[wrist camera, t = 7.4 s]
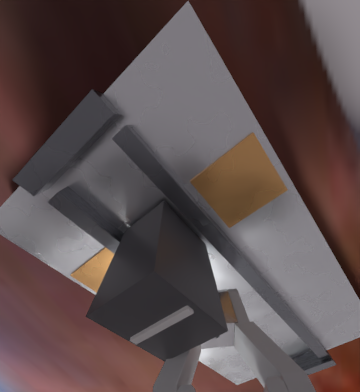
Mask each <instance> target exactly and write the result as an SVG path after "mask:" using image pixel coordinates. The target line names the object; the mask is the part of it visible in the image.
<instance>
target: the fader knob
mask: <svg viewBox="0 0 360 392" xmlns="http://www.w3.org/2000/svg"><path fill="white" fill-rule="evenodd" d="M86 317H87V318H89V319H91V320H93V321H94V322H96V323H98V324H100V325H102V326H103V327H105V328H107V329H109V330H110V331H112V332H114V333H116V334H117V335H119V336H121V337H123V338H124V339H126V340H128V341H130V342H131V343H133V344H135V345H137V346H138V347H140V348H142V349H144V350H145V351H147V352H149V353H151V354H152V355H154V356H156V357H158V358H159V359H161V360H163V361H166V359H171V358H174V357H176V356H178V355H180V354H182V353H184V352H186V351H188V350H190V349H192V348H194V347H196V346H199V345H201V344H203V343H205V342H207V341H209V340H211V339H213V338H215V337H217V336H219V335H221V334H223V333H225V332H227V331H228V328H227V324H226V320H225V316H224V313H223V309H222V305H221V301H220V297H219V293H218V290H217V286H216V282H215V278H214V274H213V270H212V267H211V263H210V259H209V255H208V251H207V247H206V244H205V243H204V242H203V241H202V240H201V239H200V238H199V236H198V235H197V234H196V233H195V232H194V231H193V230H192V229H191V228H190V227H189V226H188V225H187V224H186V223H185V222H184V221H183V220H182V219H181V218H180V217H179V216H178V215H177V214H176V213H175V212H174V211H173V209H172V208H171V207H170V206H169V205H168V204H167V203H166V202H165V201H163V202H161V203H160V204H159V205H157V206H156V207H155V208H154V209H152V210H151V211H150V212H148V213H147V214H146V215H145V216H143V217H142V218H141V219H140V220H138V221H137V222H136V223H134V224H133V225H132V226H131V227H129V228H128V229H127V230H125V232H124V234H123V237H122V239H121V241H120V243H119V245H118V248H117V250H116V252H115V254H114V256H113V258H112V261H111V263H110V265H109V267H108V269H107V271H106V274H105V276H104V278H103V280H102V282H101V284H100V287H99V289H98V291H97V293H96V295H95V298H94V300H93V302H92V304H91V306H90V308H89V311H88V313H87V315H86Z"/></svg>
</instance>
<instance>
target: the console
mask: <svg viewBox="0 0 360 392" xmlns="http://www.w3.org/2000/svg"><path fill="white" fill-rule="evenodd" d="M13 181H14V182H15V183H17V184H18V185H19V187H18V188H17V190H16V191H15V192H14V193H13V194H12V195H11V196H10V197H9V198H8V199H7V201H6V202H5V203H4V204H3V205H2V206H1V207H0V235H2V236H4V237H5V238H7V239H8V240H10V241H11V242H13V243H15V244H16V245H18V246H19V247H21V248H22V249H24V250H26V251H27V252H29V253H30V254H32V255H33V256H35V257H37V258H38V259H40V260H41V261H43V262H44V263H46V264H48V265H49V266H51V267H52V268H54V269H55V270H57V271H59V272H60V273H62V274H63V275H65V276H66V277H68V278H70V279H71V280H73V281H74V282H76V283H77V284H79V285H81V286H82V287H84V288H85V289H87V290H88V291H90V292H92V293H93V294H95V295H96V293H97V291H98V289H99V287H100V284H101V282H102V280H103V278H104V276H105V274H106V271H107V269H108V267H109V265H110V263H111V261H112V258H113V256H114V254H115V252H116V250H117V248H118V245H119V243H120V241H121V239H122V237H123V234H124V232H125V230H127V229H128V228H129V227H131V226H132V225H133V224H134V223H136V222H137V221H138V220H140V219H141V218H142V217H143V216H145V215H146V214H147V213H148V212H150V211H151V210H152V209H154V208H155V207H156V206H157V205H159V204H160V203H161V202H163V201H165V202H166V203H167V204H168V205H169V206H170V207H171V208H172V209H173V211H174V212H175V213H176V214H177V215H178V216H179V217H180V218H181V219H182V220H183V221H184V222H185V223H186V224H187V225H188V226H189V227H190V228H191V229H192V230H193V231H194V232H195V233H196V234H197V235H198V236H199V238H200V239H201V240H202V241H203V242H204V243H205V244H206V247H207V251H208V255H209V259H210V263H211V267H212V270H213V274H214V278H215V282H216V286H217V290H223V289H234V288H236V289H237V290H238V292H239V295H240V297H241V300H242V302H243V305H244V308H245V310H246V313H247V315H248V318H249V321H250V322H254V323H255V324H256V325H257V326H258V327H259V328H260V329H261V330H262V331H263V332H264V333H265V334H266V335H267V336H268V337H270V338H271V339H272V340H273V341H274V342H275V343H276V344H277V345H278V346H279V347H280V348H281V349H282V350H283V351H284V352H285V353H286V354H287V355H288V356H289V357H290V358H291V359H292V360H293V361H294V362H295V363H296V364H297V365H299V366H300V367H301V368H302V369H303V370H304V371H305V372H306V374H307V375H309V374H312V373H315V372H318V371H320V370H323V369H326V368H329V367H331V366H334V365H336V363H335V362H334V360H333V359H332V357H331V356H330V354H329V353H328V351H327V350H328V349H331V348H333V347H336V346H339V345H341V344H344V343H346V342H349V341H351V340H354V339H356V338H359V337H360V300H359V298H358V296H357V295H356V293H355V291H354V289H353V288H352V286H351V284H350V282H349V281H348V279H347V277H346V275H345V274H344V272H343V270H342V268H341V267H340V265H339V263H338V261H337V260H336V258H335V256H334V254H333V253H332V251H331V249H330V247H329V246H328V244H327V242H326V240H325V239H324V237H323V235H322V233H321V232H320V230H319V228H318V226H317V225H316V223H315V221H314V219H313V218H312V216H311V214H310V212H309V211H308V209H307V207H306V205H305V204H304V202H303V200H302V198H301V197H300V195H299V193H298V192H297V190H296V188H295V186H294V185H293V183H292V181H291V179H290V178H289V176H288V174H287V172H286V171H285V169H284V167H283V165H282V164H281V162H280V160H279V158H278V157H277V155H276V153H275V151H274V150H273V148H272V146H271V144H270V143H269V141H268V139H267V137H266V136H265V134H264V132H263V130H262V129H261V127H260V125H259V123H258V122H257V120H256V118H255V116H254V115H253V113H252V111H251V109H250V108H249V106H248V104H247V102H246V101H245V99H244V97H243V95H242V94H241V92H240V90H239V88H238V87H237V85H236V83H235V81H234V80H233V78H232V76H231V74H230V73H229V71H228V69H227V67H226V66H225V64H224V62H223V60H222V59H221V57H220V55H219V53H218V52H217V50H216V48H215V46H214V45H213V43H212V41H211V39H210V38H209V36H208V34H207V32H206V31H205V29H204V27H203V25H202V24H201V22H200V20H199V18H198V17H197V15H196V13H195V11H194V10H193V8H192V6H191V4H190V3H189V1H187V2H186V3H185V4H184V6H183V7H182V8H181V9H180V10H179V11H178V12H177V13H176V14H175V15H174V17H173V18H172V19H171V20H170V21H169V22H168V23H167V24H166V25H165V26H164V28H163V29H162V30H161V31H160V32H159V33H158V34H157V35H156V36H155V37H154V39H153V40H152V41H151V42H150V43H149V44H148V45H147V46H146V47H145V49H144V50H143V51H142V52H141V53H140V54H139V55H138V56H137V57H136V58H135V60H134V61H133V62H132V63H131V64H130V65H129V66H128V67H127V68H126V69H125V71H124V72H123V73H122V74H121V75H120V76H119V77H118V78H117V79H116V80H115V82H114V83H113V84H112V85H111V86H110V87H109V88H108V89H107V90H106V91H105V93H104V94H103V93H100V92H98V91H96V90H93V89H92V90H91V91H90V92H89V93H88V94H87V96H86V97H85V98H84V99H83V100H82V101H81V102H80V104H79V105H78V106H77V107H76V108H75V109H74V110H73V112H72V113H71V114H70V115H69V116H68V117H67V118H66V119H65V121H64V122H63V123H62V124H61V125H60V126H59V127H58V129H57V130H56V131H55V132H54V133H53V134H52V135H51V137H50V138H49V139H48V140H47V141H46V142H45V143H44V145H43V146H42V147H41V148H40V149H39V150H38V151H37V152H36V154H35V155H34V156H33V157H32V158H31V159H30V160H29V162H28V163H27V164H26V165H25V166H24V167H23V168H22V170H21V171H20V172H19V173H18V174H17V175H16V176H15V178H14V179H13ZM199 361H200V362H202V363H203V364H205V365H207V366H208V367H210V368H211V369H213V370H214V371H216V372H218V373H219V374H221V375H222V376H224V377H225V378H227V379H229V380H230V381H232V382H233V383H235V384H236V385H239V384H241V383H244V382H246V381H249V380H251V379H254V378H256V376H255V375H254V373H253V372H252V371H251V369H250V368H249V367H248V365H247V364H246V362H245V361H244V360H243V358H242V357H241V356H240V354H239V353H238V352H237V350H236V349H235V348H234V346H227V347H215V348H207V349H201V354H200V357H199Z"/></svg>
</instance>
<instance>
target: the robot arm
mask: <svg viewBox="0 0 360 392" xmlns="http://www.w3.org/2000/svg"><path fill="white" fill-rule="evenodd" d="M218 293H219V297H220V301H221V305H222V309H223V313H224V316H225V320H226V324H227V328H228V331H227V332H225V333H223V334H221V335H219V336H217V337H215V338H213V339H211V340H209V341H207V342H205V343H203V344H201V345H199V346H196V347H194V348H192V349H190V350H188V351H186V352H184V353H182V354H180V355H178V356H176V357H174V358H171V359H166V361H165V363H164V365H163V367H162V369H161V371H160V373H159V376H158V378H157V380H156V382H155V384H154V386H153V392H196V391H195V388H194V387H193V386H192V385H191V383H192V380H193V376H194V373H195V370H196V367H197V363H198V360H199V357H200V354H201V349H207V348H215V347H227V346H234V348H235V349H236V350H237V352H238V353H239V354H240V356H241V357H242V358H243V360H244V361H245V362H246V364H247V365H248V367H249V368H250V369H251V371H252V372H253V373H254V375H255V376H256V377H257V379H258V380H259V381H260V383H261V384H262V386H263V387H264V392H316V391H315V389H314V387H313V385H312V383H311V382H310V380H309V378H308V376H307V374H306V372H305V371H304V370H303V369H302V368H301V367H300V366H299V365H297V364H296V363H295V362H294V361H293V360H292V359H291V358H290V357H289V356H288V355H287V354H286V353H285V352H284V351H283V350H282V349H281V348H280V347H279V346H278V345H277V344H276V343H275V342H274V341H273V340H272V339H271V338H270V337H268V336H267V335H266V334H265V333H264V332H263V331H262V330H261V329H260V328H259V327H258V326H257V325H256V324H255V323H254V322H250V321H249V318H248V315H247V313H246V310H245V308H244V305H243V302H242V300H241V297H240V295H239V292H238V290H237V289H236V288H234V289H223V290H218Z"/></svg>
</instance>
